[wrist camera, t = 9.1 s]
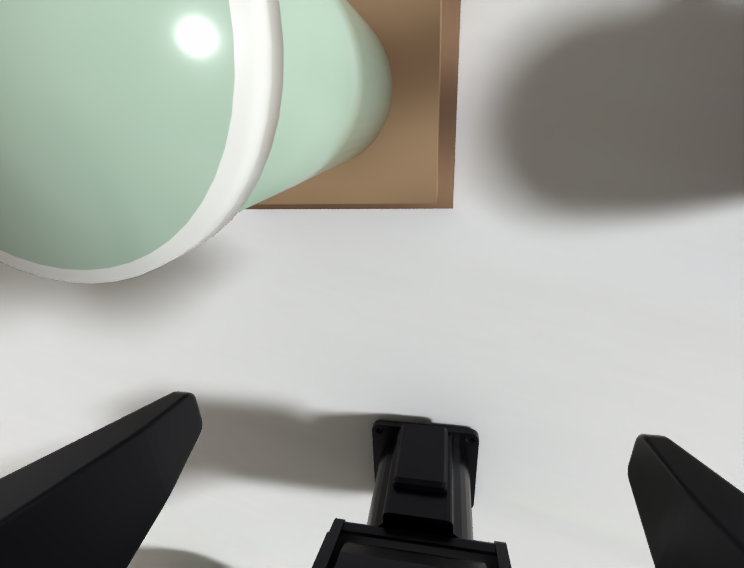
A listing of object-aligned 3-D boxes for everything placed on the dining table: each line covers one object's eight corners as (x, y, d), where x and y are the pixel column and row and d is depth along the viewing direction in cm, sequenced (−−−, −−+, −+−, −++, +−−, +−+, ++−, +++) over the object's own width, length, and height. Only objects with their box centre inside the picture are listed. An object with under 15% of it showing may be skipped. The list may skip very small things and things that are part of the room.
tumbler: (370, 190, 16) (213, 343, 5) (236, 142, 16) (-172, 197, 6) (421, 26, 14) (315, -303, 3) (261, -29, 14) (-400, -529, 3)
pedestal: (452, 204, 19) (453, 220, 16) (252, 205, 21) (222, 219, 18) (462, -72, 15) (466, -112, 12) (211, -39, 17) (165, -68, 14)
